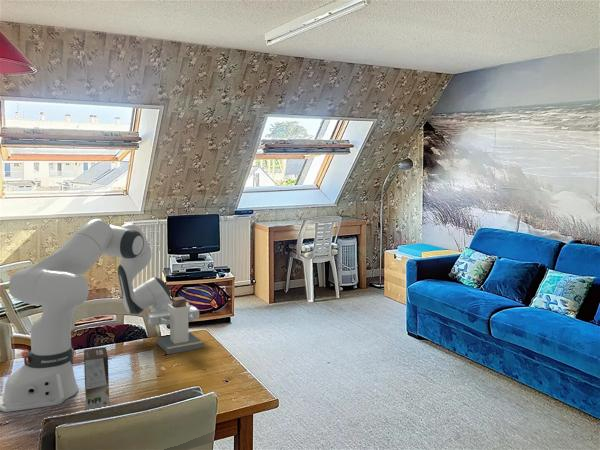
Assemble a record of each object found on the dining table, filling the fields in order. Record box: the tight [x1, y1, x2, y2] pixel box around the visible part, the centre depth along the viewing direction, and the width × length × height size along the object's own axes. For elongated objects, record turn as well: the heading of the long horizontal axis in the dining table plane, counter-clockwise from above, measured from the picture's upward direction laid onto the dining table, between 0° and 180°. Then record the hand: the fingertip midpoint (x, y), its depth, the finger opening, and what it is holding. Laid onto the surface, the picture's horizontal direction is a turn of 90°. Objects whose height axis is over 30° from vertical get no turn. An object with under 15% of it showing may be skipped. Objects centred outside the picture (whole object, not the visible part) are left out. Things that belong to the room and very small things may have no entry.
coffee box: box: [83, 346, 110, 411], centre depth 154 cm, size 9×6×16 cm
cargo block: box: [171, 296, 187, 308], centre depth 203 cm, size 4×4×4 cm
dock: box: [156, 332, 204, 355], centre depth 205 cm, size 14×14×2 cm
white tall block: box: [168, 304, 190, 344], centre depth 204 cm, size 6×6×14 cm
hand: (180, 321), depth 203 cm, fingers open, 8 cm apart
